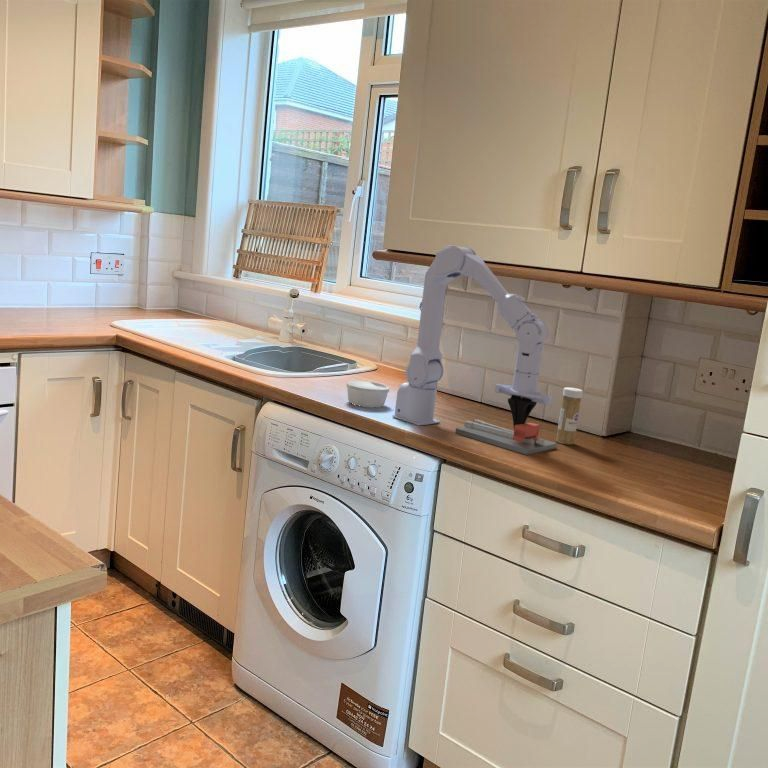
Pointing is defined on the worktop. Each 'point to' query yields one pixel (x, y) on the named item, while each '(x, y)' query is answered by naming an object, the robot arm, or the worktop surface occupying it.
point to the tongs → (501, 431)
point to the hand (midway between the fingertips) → (518, 428)
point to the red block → (525, 431)
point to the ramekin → (367, 393)
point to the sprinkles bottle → (569, 415)
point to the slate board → (504, 441)
